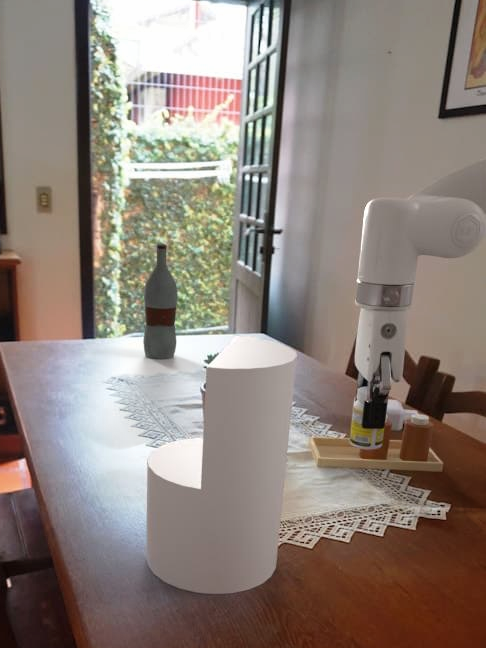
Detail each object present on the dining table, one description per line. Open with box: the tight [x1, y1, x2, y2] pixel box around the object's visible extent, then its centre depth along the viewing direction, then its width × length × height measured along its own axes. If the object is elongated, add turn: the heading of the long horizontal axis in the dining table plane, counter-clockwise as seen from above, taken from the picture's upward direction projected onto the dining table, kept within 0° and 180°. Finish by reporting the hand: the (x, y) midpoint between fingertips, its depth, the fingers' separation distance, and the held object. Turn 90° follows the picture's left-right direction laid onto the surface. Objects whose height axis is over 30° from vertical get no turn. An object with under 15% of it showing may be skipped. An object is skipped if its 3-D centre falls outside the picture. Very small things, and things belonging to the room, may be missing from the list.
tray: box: [308, 436, 444, 472], centre depth 126 cm, size 22×11×2 cm, turn 90°
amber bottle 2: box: [399, 413, 435, 462], centre depth 124 cm, size 5×5×8 cm
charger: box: [353, 397, 419, 432], centre depth 144 cm, size 5×9×15 cm
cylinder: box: [145, 334, 298, 595], centre depth 85 cm, size 17×17×28 cm
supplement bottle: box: [349, 387, 384, 450], centre depth 100 cm, size 5×5×8 cm
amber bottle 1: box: [359, 415, 392, 460], centre depth 124 cm, size 5×5×8 cm
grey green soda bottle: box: [143, 243, 179, 360], centre depth 187 cm, size 9×9×30 cm
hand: (368, 420), depth 100 cm, fingers closed on supplement bottle, 4 cm apart
